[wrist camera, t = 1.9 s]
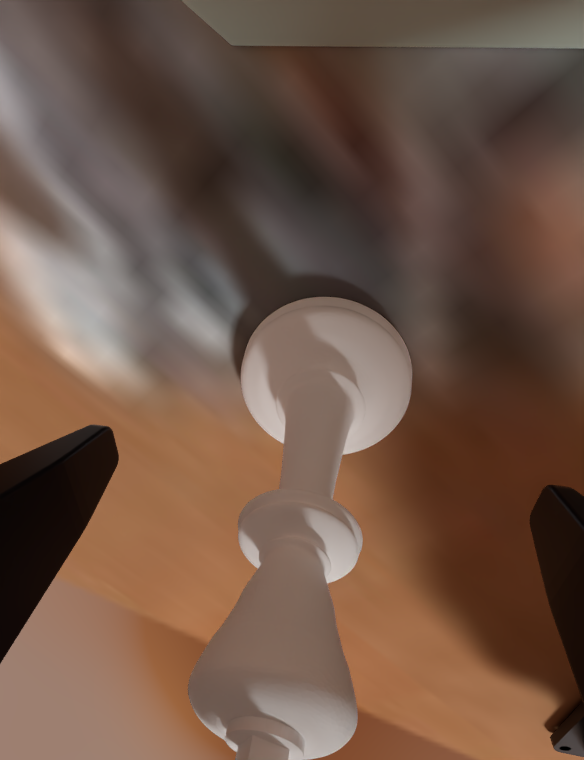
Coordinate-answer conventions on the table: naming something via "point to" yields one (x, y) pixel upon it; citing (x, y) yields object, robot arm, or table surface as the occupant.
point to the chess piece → (301, 530)
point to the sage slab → (396, 22)
